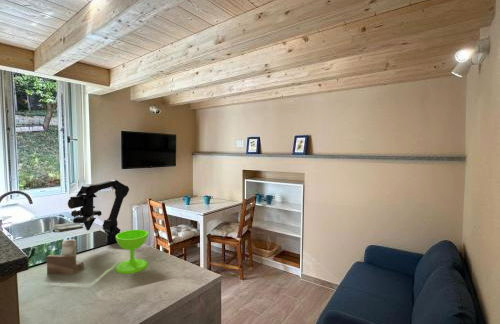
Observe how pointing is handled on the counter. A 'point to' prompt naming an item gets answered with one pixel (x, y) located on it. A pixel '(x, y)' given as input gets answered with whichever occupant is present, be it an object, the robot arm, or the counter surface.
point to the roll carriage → (69, 248)
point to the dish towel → (66, 227)
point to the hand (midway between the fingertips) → (88, 230)
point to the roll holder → (62, 265)
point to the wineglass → (131, 250)
